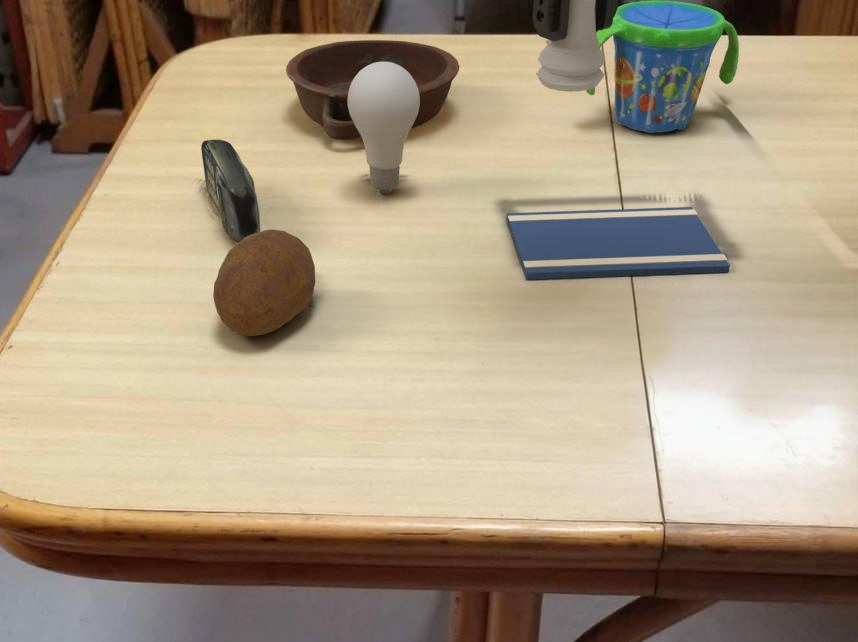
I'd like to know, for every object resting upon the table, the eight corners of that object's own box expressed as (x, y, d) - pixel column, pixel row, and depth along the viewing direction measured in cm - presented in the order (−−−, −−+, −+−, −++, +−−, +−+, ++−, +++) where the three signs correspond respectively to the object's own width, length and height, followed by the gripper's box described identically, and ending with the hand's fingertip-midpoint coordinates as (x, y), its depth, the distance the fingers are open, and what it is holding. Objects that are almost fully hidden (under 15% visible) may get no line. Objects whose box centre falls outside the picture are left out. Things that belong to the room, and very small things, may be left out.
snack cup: (708, 100, 113) (727, -5, 106) (745, 137, 105) (769, 26, 98) (563, 108, 111) (574, 2, 105) (591, 146, 103) (604, 33, 97)
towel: (690, 213, 92) (692, 205, 92) (728, 272, 84) (730, 264, 83) (506, 219, 91) (506, 211, 91) (526, 280, 83) (526, 271, 83)
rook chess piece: (534, 92, 69) (543, -46, 64) (536, 69, 73) (545, -63, 67) (604, 94, 69) (619, -45, 64) (603, 71, 72) (616, -63, 67)
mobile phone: (194, 136, 93) (231, 198, 82) (228, 132, 94) (269, 193, 83) (201, 192, 96) (238, 259, 85) (234, 187, 97) (275, 253, 86)
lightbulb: (408, 175, 98) (408, 49, 91) (427, 202, 94) (429, 71, 87) (344, 182, 97) (339, 55, 90) (359, 210, 93) (355, 78, 86)
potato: (196, 344, 76) (183, 262, 72) (252, 282, 83) (244, 204, 79) (281, 359, 74) (274, 276, 70) (332, 294, 81) (328, 216, 77)
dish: (473, 84, 117) (475, 35, 114) (438, 160, 101) (439, 106, 98) (319, 74, 120) (316, 26, 117) (261, 147, 104) (256, 93, 101)
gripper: (550, -302, 52) (527, 69, 63) (748, -316, 58) (694, 25, 69) (456, -308, 57) (451, 39, 68) (649, -320, 63) (614, 0, 74)
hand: (574, 30), depth 69 cm, fingers closed on rook chess piece, 3 cm apart
